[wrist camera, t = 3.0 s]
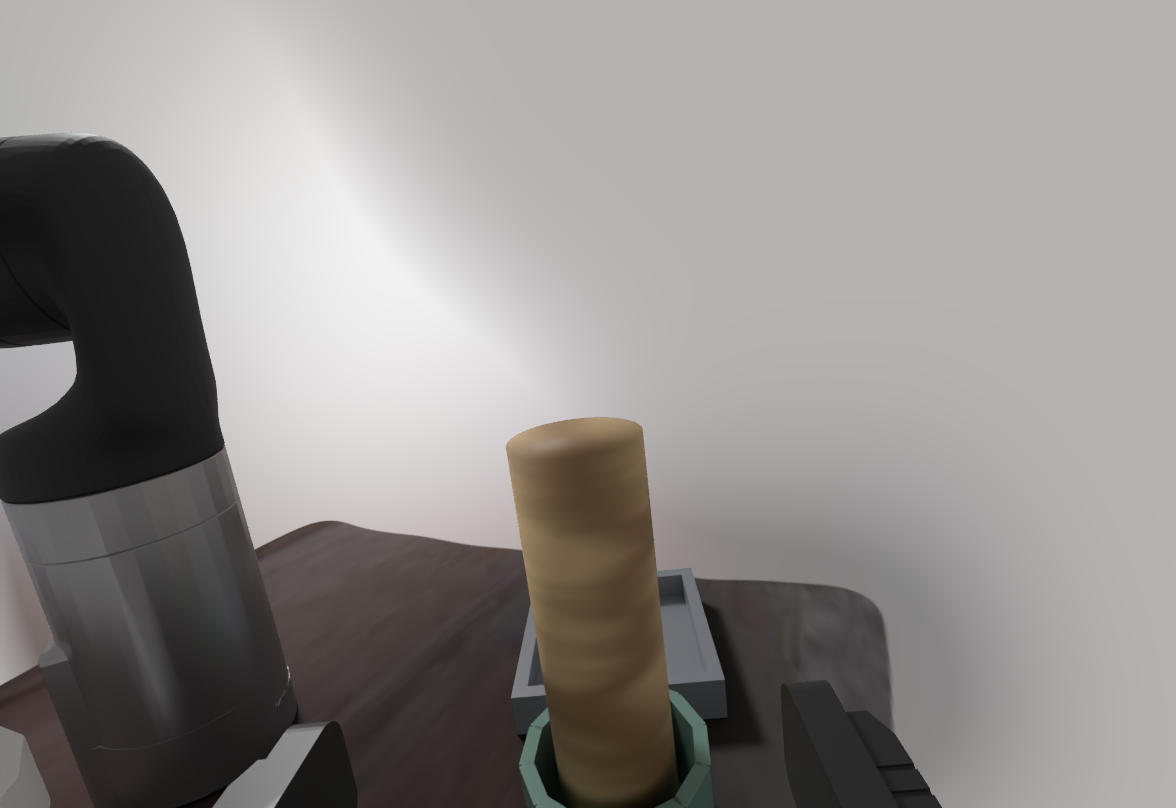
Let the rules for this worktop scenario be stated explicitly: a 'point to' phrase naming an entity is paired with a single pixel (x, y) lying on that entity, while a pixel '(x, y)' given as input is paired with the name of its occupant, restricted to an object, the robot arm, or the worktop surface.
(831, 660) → the worktop surface
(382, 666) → the worktop surface
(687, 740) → the holder pot
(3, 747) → the foam cup
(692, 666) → the tray
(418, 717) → the worktop surface
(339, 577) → the worktop surface
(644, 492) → the wooden dowel
